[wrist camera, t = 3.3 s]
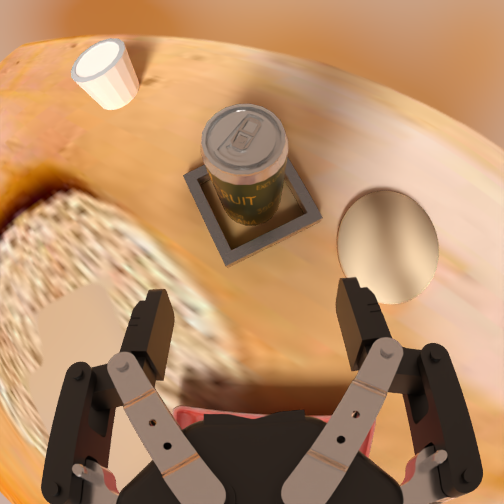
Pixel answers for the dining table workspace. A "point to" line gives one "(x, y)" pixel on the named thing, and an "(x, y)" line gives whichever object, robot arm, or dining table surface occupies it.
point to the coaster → (388, 246)
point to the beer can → (246, 161)
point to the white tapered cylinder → (106, 74)
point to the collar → (265, 240)
